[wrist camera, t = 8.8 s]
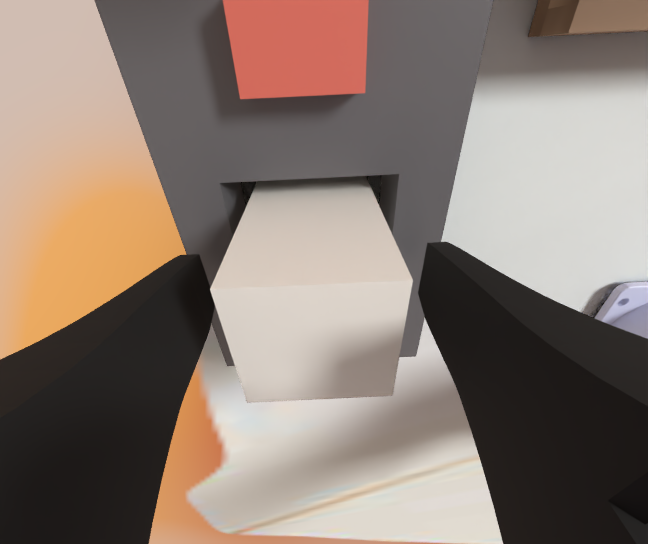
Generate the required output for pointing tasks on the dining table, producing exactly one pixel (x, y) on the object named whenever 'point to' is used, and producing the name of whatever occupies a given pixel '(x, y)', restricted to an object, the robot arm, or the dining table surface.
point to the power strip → (301, 108)
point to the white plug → (313, 292)
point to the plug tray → (588, 17)
